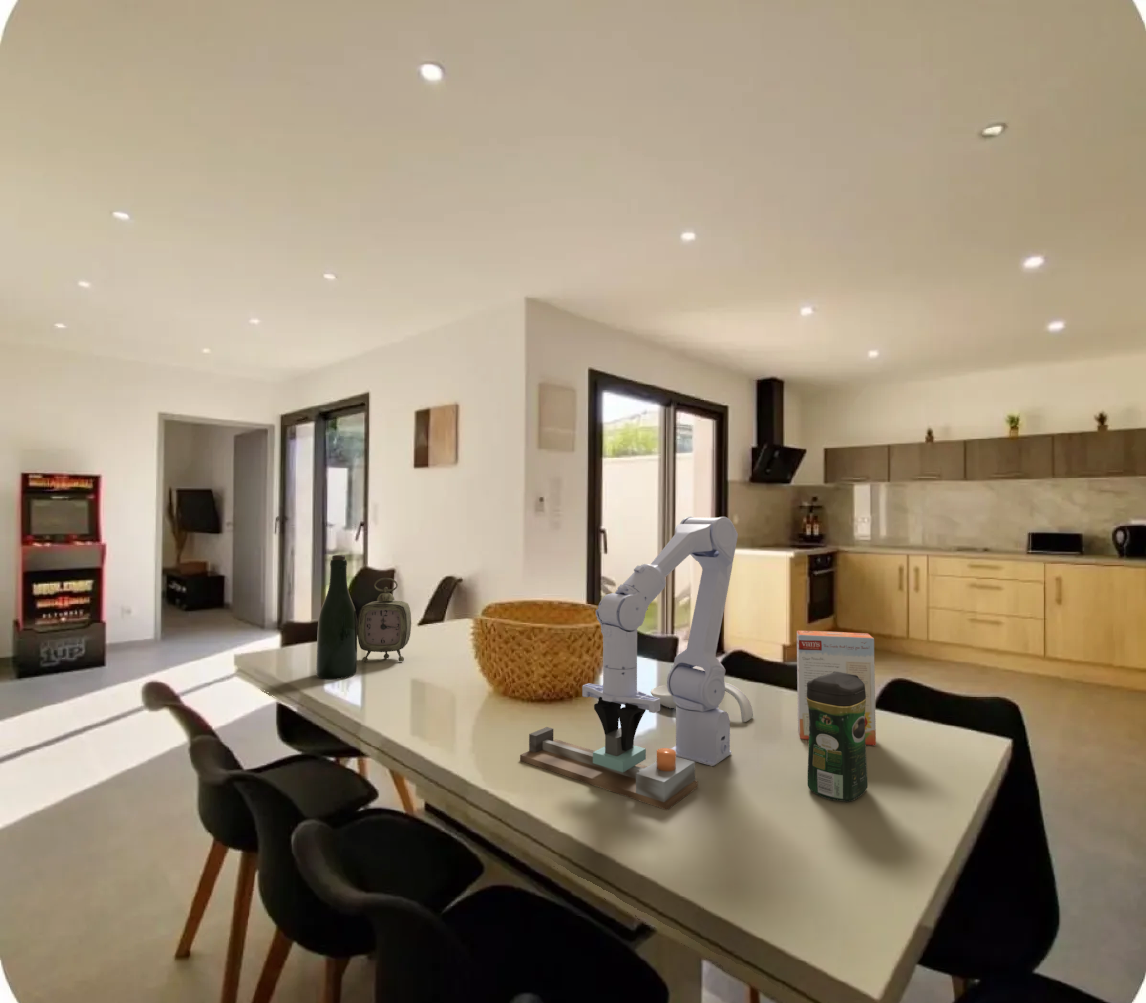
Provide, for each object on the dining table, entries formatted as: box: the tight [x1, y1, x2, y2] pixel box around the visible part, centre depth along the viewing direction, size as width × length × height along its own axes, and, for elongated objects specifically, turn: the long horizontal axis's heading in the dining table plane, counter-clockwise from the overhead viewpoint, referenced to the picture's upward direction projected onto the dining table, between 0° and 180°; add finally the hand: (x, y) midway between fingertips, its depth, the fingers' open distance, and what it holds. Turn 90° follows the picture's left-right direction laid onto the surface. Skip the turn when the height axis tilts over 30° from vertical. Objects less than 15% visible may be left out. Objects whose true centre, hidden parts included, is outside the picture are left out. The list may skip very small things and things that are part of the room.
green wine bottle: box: [315, 554, 358, 680], centre depth 170 cm, size 10×10×33 cm
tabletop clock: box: [357, 577, 412, 663], centre depth 188 cm, size 14×9×25 cm, turn 95°
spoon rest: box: [650, 681, 754, 723], centre depth 141 cm, size 24×12×7 cm, turn 54°
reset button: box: [656, 747, 677, 771], centre depth 98 cm, size 3×3×2 cm
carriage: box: [593, 727, 647, 772], centre depth 104 cm, size 6×7×5 cm
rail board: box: [519, 726, 699, 811], centre depth 106 cm, size 30×10×4 cm, turn 52°
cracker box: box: [796, 630, 877, 746], centre depth 124 cm, size 14×6×21 cm, turn 74°
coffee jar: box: [807, 671, 869, 803], centre depth 100 cm, size 10×8×19 cm
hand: (619, 746), depth 104 cm, fingers closed on carriage, 2 cm apart
